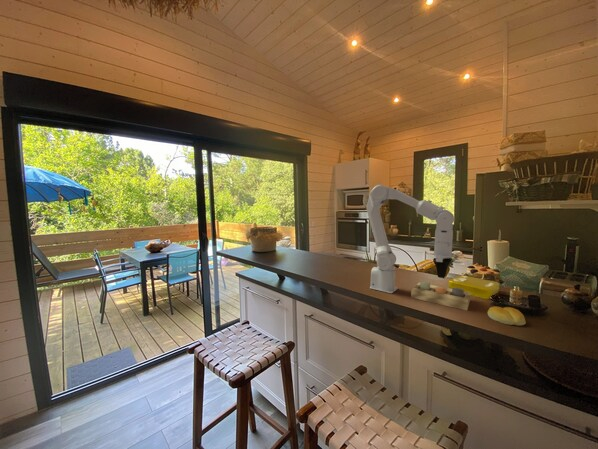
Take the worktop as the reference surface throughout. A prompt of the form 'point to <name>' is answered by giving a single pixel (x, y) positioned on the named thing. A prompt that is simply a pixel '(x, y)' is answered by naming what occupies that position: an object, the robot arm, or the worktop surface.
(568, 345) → the worktop surface
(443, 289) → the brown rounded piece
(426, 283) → the sage button
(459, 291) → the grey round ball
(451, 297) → the button panel
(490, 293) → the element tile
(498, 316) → the bread roll
